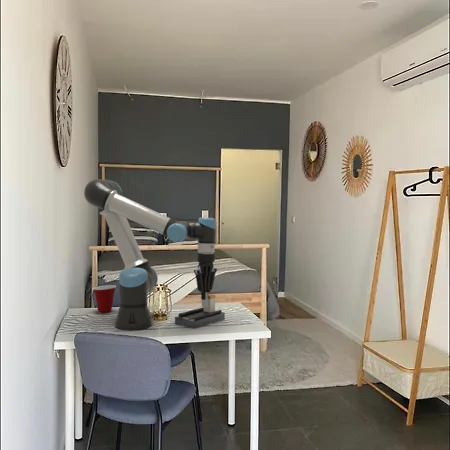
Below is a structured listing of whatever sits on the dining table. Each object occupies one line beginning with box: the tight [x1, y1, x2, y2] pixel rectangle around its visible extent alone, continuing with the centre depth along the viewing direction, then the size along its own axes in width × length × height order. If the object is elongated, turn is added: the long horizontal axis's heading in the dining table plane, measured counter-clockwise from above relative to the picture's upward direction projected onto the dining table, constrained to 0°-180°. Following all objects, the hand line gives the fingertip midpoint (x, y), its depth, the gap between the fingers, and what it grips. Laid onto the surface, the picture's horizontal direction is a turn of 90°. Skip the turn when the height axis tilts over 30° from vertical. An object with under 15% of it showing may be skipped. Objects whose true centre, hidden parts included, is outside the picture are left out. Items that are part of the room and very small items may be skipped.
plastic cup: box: [92, 284, 117, 314], centre depth 232 cm, size 11×11×12 cm
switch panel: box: [174, 306, 226, 329], centre depth 215 cm, size 20×11×4 cm, turn 141°
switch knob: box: [204, 293, 216, 313], centre depth 219 cm, size 3×4×7 cm
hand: (204, 306), depth 216 cm, fingers closed
